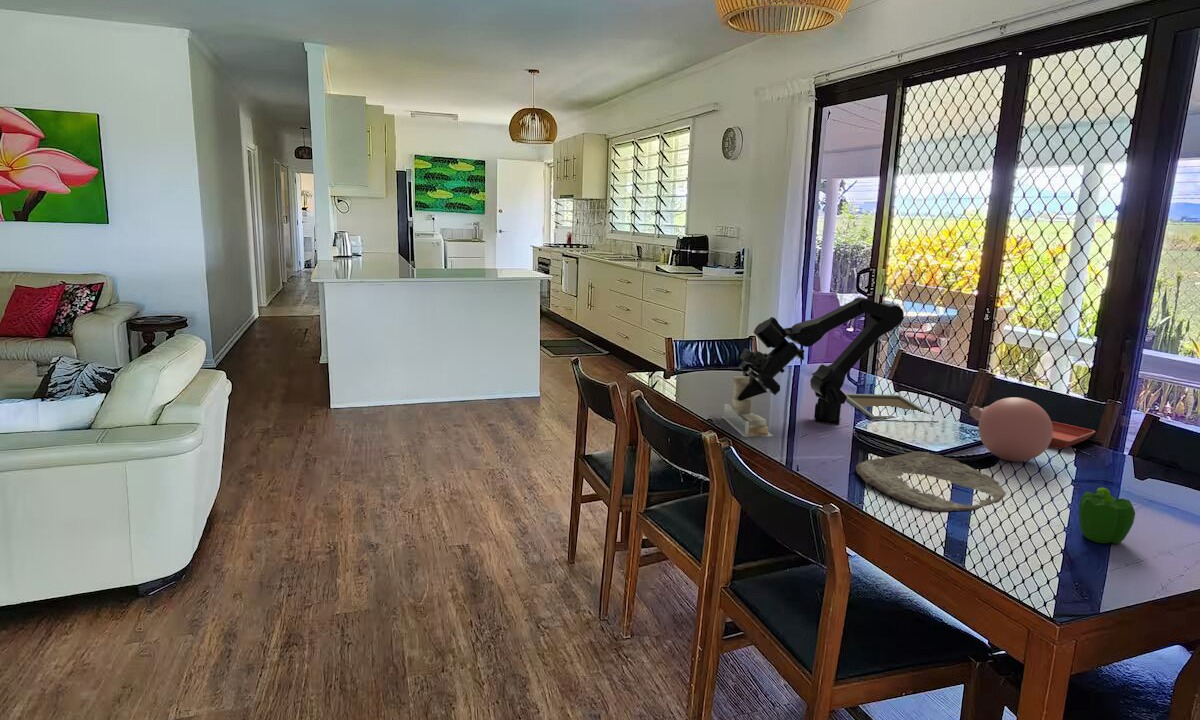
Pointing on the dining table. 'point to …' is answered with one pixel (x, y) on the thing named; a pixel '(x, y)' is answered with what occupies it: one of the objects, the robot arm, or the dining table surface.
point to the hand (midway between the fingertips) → (736, 398)
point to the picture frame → (881, 402)
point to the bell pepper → (1105, 517)
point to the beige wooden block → (738, 387)
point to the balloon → (1014, 428)
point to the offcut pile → (756, 424)
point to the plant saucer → (1068, 435)
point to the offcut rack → (739, 421)
